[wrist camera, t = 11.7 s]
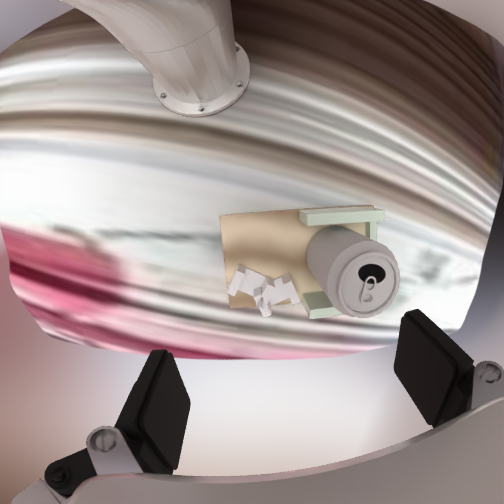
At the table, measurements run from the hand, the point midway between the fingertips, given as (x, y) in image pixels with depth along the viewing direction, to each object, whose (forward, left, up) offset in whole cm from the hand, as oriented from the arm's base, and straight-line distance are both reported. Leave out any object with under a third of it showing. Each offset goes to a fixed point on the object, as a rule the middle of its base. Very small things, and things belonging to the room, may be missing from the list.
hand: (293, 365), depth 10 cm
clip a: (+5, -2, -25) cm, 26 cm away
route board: (+2, +5, -25) cm, 25 cm away
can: (+2, +9, -24) cm, 26 cm away
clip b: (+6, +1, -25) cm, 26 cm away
